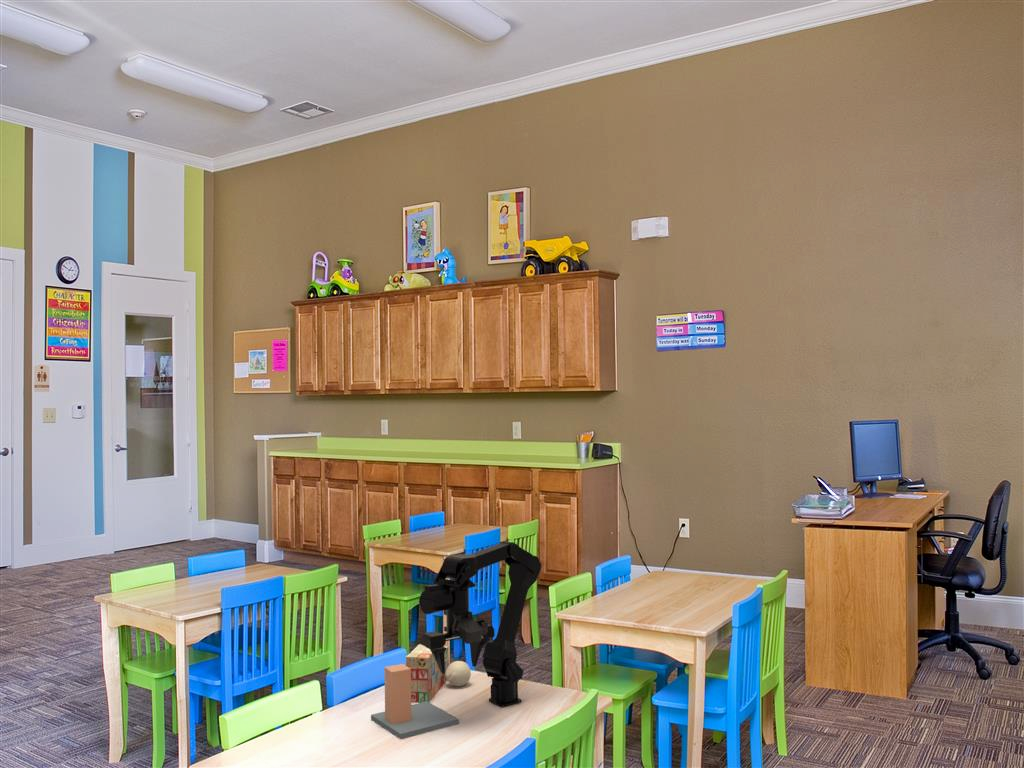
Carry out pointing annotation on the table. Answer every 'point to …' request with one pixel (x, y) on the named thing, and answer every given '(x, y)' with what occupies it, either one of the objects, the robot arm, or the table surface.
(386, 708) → the tall peach square pillar
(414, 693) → the stack of blocks
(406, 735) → the slate board
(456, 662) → the baseball
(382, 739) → the table surface
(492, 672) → the robot arm
